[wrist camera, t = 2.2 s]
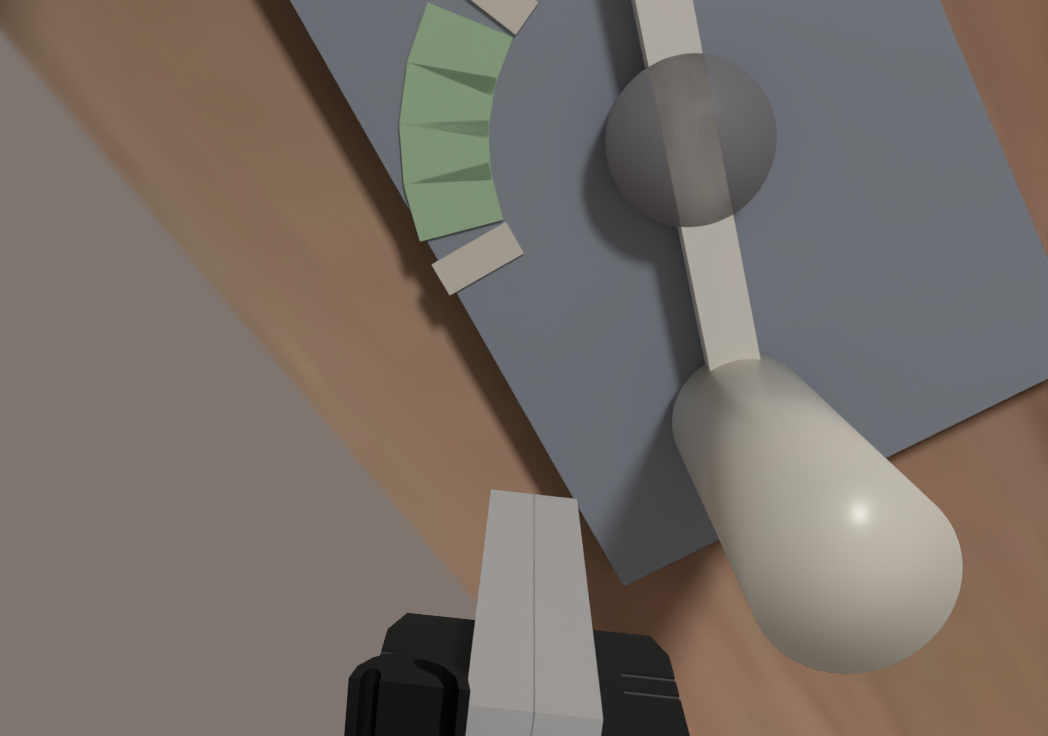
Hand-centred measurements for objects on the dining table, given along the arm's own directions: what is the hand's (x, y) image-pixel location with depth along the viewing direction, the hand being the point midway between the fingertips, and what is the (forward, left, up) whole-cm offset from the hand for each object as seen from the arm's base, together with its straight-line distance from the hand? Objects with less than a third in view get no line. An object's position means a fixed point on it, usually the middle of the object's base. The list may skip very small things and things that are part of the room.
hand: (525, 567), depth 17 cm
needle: (-3, +7, -11) cm, 14 cm away
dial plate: (-4, +7, -13) cm, 15 cm away
